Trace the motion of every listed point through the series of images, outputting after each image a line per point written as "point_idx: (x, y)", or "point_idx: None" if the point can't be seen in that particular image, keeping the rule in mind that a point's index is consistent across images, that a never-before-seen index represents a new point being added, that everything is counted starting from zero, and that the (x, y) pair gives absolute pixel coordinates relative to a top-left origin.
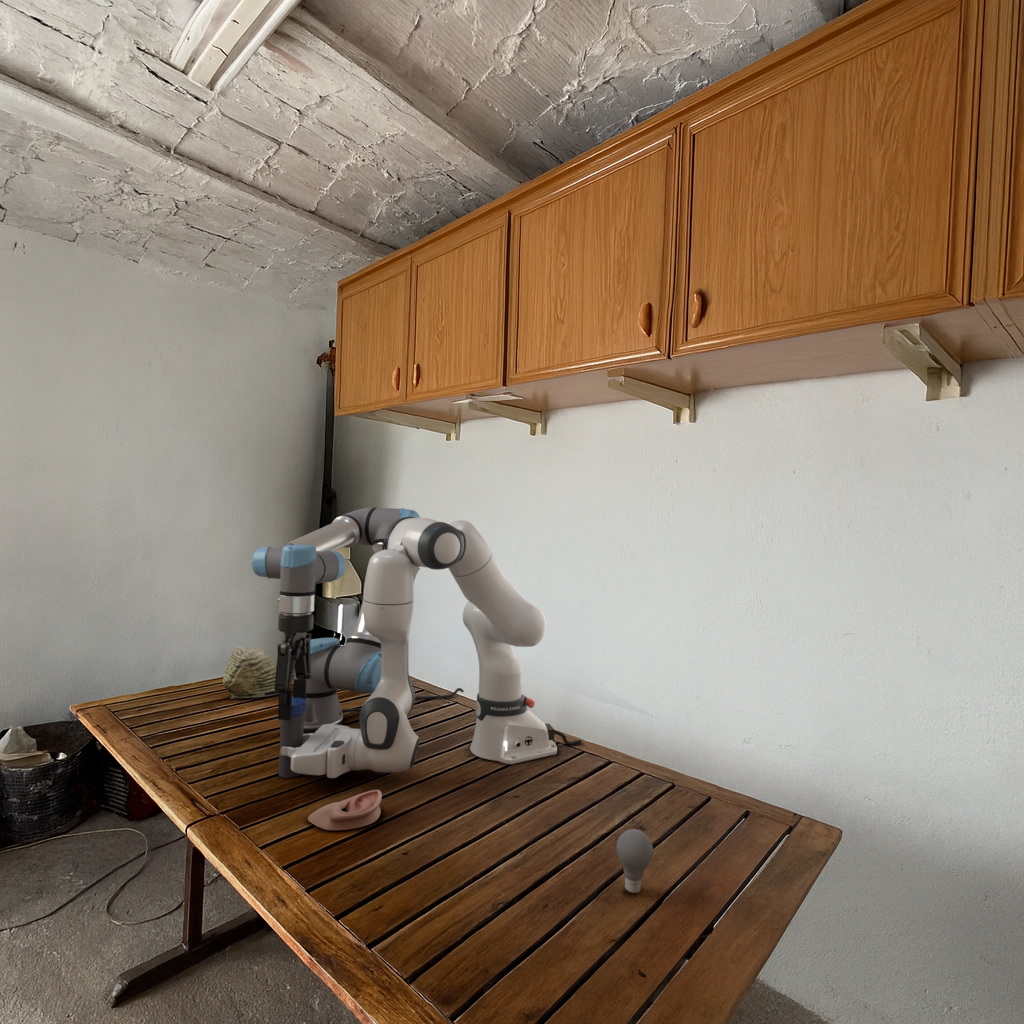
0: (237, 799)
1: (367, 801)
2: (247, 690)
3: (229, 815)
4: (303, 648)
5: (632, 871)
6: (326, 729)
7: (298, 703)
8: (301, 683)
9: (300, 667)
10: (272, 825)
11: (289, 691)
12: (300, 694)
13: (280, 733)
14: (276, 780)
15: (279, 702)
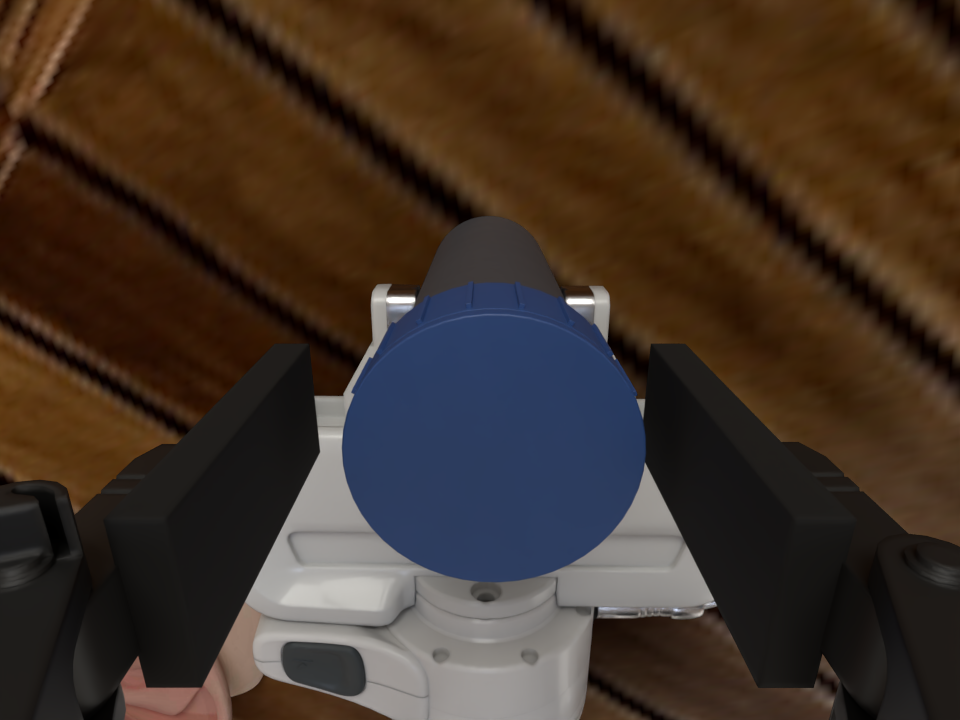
0: (164, 137)
1: (174, 702)
2: None
3: (19, 177)
4: None
5: None
6: (657, 494)
7: (431, 537)
8: (748, 597)
9: None
10: (21, 389)
11: (150, 658)
12: (688, 490)
13: (443, 271)
14: (400, 237)
15: (124, 470)
